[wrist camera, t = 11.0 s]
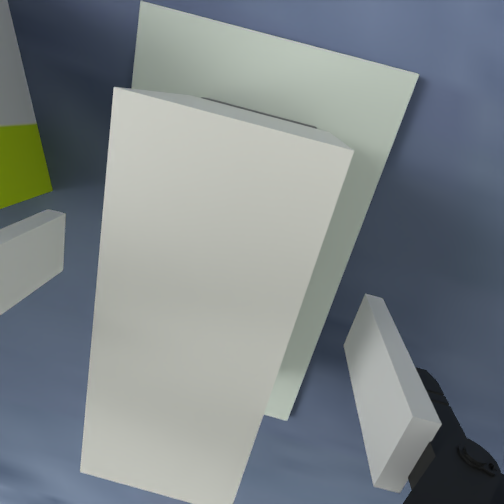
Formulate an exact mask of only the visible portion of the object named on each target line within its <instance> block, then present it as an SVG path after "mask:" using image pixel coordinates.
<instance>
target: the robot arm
mask: <svg viewBox="0 0 504 504" xmlns="http://www.w3.org/2000/svg"><path fill="white" fill-rule="evenodd" d="M65 219H66V213H62V212H58V211H54V210H51V209H47V210H44V211H42V212H40V213H37V214H35V215H33V216H30V217H28V218H26V219H23V220H21V221H18V222H16V223H14V224H11V225H9V226H7V227H4V228H2V229H0V315H2V314H3V313H4V312H6V311H7V310H9V309H10V308H11V307H13V306H14V305H16V304H17V303H18V302H20V301H21V300H23V299H24V298H25V297H27V296H28V295H29V294H31V293H32V292H34V291H35V290H36V289H38V288H39V287H41V286H42V285H43V284H45V283H46V282H48V281H49V280H50V279H52V278H53V277H55V276H56V275H57V274H59V273H60V272H62V271H63V262H64V241H65ZM344 350H345V355H346V360H347V364H348V369H349V374H350V378H351V383H352V388H353V392H354V397H355V402H356V406H357V411H358V416H359V420H360V425H361V430H362V434H363V439H364V444H365V448H366V453H367V458H368V463H369V467H370V472H371V477H372V481H373V486H374V487H378V488H381V489H385V490H389V491H392V492H396V493H400V492H401V490H402V489H403V487H404V486H405V484H406V482H407V481H408V479H409V483H410V486H411V489H412V491H411V492H410V494H409V495H408V497H407V498H406V500H405V501H404V503H403V504H504V475H503V474H502V473H501V471H500V469H499V467H498V464H497V462H496V461H495V460H494V459H493V457H492V456H491V455H490V454H489V453H488V452H487V451H486V450H485V449H483V448H482V447H481V446H480V445H478V444H477V443H475V442H473V441H472V440H470V439H467V437H466V436H465V434H464V432H463V430H462V428H461V426H460V424H459V422H458V420H457V418H456V417H455V415H454V413H453V411H452V409H451V407H450V406H449V403H448V401H447V399H446V397H445V396H443V395H444V394H443V392H442V390H441V388H440V386H439V384H438V382H437V381H436V380H435V379H434V378H433V377H432V376H431V375H430V374H429V373H428V372H427V371H426V370H424V369H420V368H416V367H415V366H414V364H413V362H412V359H411V357H410V355H409V353H408V351H407V349H406V347H405V345H404V342H403V340H402V338H401V336H400V334H399V332H398V330H397V328H396V325H395V323H394V321H393V319H392V317H391V315H390V313H389V311H388V308H387V306H386V304H385V302H384V300H383V298H380V297H376V296H373V295H369V294H365V295H364V298H363V300H362V302H361V305H360V307H359V310H358V312H357V314H356V317H355V319H354V321H353V324H352V326H351V329H350V331H349V333H348V336H347V338H346V341H345V343H344Z"/></svg>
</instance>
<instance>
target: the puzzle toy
mask: <svg viewBox="0 0 504 504" xmlns="http://www.w3.org/2000/svg"><path fill="white" fill-rule="evenodd" d="M51 191H53V189H52V185H51V181H50V177H49V173H48V168H47V164H46V160H45V156H44V152H43V147H42V143H41V139H40V135H39V131H38V126H37V122H36V118H35V114H34V110H33V105H32V101H31V97H30V93H29V89H28V84H27V80H26V76H25V72H24V68H23V63H22V59H21V55H20V51H19V47H18V42H17V38H16V34H15V30H14V26H13V22H12V17H11V13H10V9H9V5H8V1H7V0H0V209H2V208H4V207H7V206H10V205H13V204H16V203H19V202H22V201H25V200H28V199H30V198H33V197H36V196H39V195H42V194H45V193H48V192H51Z"/></svg>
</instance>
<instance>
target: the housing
mask: <svg viewBox="0 0 504 504" xmlns="http://www.w3.org/2000/svg"><path fill="white" fill-rule="evenodd" d="M353 153H354V150H353V149H351V148H350V147H349V146H347V145H346V144H345V143H343V142H342V141H341V140H339V139H338V138H337V137H335V136H334V135H333V134H331V133H330V132H327V131H323V130H319V129H315V128H312V127H308V126H304V125H300V124H297V123H293V122H289V121H285V120H282V119H278V118H274V117H270V116H267V115H263V114H259V113H255V112H252V111H248V110H244V109H240V108H236V107H233V106H229V105H225V104H221V103H218V102H214V101H210V100H206V99H203V98H199V97H195V96H191V95H183V94H174V93H165V92H157V91H148V90H139V89H130V88H121V87H114V90H113V102H112V113H111V124H110V136H109V147H108V159H107V170H106V181H105V193H104V204H103V216H102V227H101V238H100V250H99V261H98V273H97V284H96V295H95V307H94V318H93V330H92V341H91V352H90V364H89V375H88V387H87V398H86V409H85V421H84V432H83V444H82V455H81V467H80V472H82V473H85V474H89V475H93V476H96V477H100V478H103V479H107V480H110V481H114V482H118V483H121V484H125V485H128V486H132V487H135V488H139V489H143V490H146V491H150V492H153V493H157V494H161V495H164V496H168V497H171V498H175V499H178V500H182V501H186V502H189V503H193V504H233V502H234V499H235V496H236V493H237V491H238V488H239V485H240V482H241V479H242V476H243V473H244V470H245V467H246V464H247V461H248V459H249V456H250V453H251V450H252V447H253V444H254V441H255V438H256V435H257V432H258V430H259V427H260V424H261V421H262V418H263V415H264V412H265V409H266V406H267V403H268V400H269V398H270V395H271V392H272V389H273V386H274V383H275V380H276V377H277V374H278V371H279V368H280V366H281V363H282V360H283V357H284V354H285V351H286V348H287V345H288V342H289V339H290V336H291V334H292V331H293V328H294V325H295V322H296V319H297V316H298V313H299V310H300V307H301V305H302V302H303V299H304V296H305V293H306V290H307V287H308V284H309V281H310V278H311V275H312V273H313V270H314V267H315V264H316V261H317V258H318V255H319V252H320V249H321V246H322V243H323V241H324V238H325V235H326V232H327V229H328V226H329V223H330V220H331V217H332V214H333V212H334V209H335V206H336V203H337V200H338V197H339V194H340V191H341V188H342V185H343V182H344V180H345V177H346V174H347V171H348V168H349V165H350V162H351V159H352V156H353Z"/></svg>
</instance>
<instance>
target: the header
mask: <svg viewBox="0 0 504 504" xmlns="http://www.w3.org/2000/svg"><path fill="white" fill-rule="evenodd" d="M418 77H419V74H417V73H413V72H409V71H406V70H402V69H398V68H394V67H390V66H387V65H383V64H379V63H375V62H371V61H368V60H364V59H360V58H356V57H352V56H349V55H345V54H341V53H337V52H333V51H330V50H326V49H322V48H318V47H315V46H311V45H307V44H303V43H299V42H296V41H292V40H288V39H284V38H280V37H277V36H273V35H269V34H265V33H261V32H258V31H254V30H250V29H246V28H242V27H239V26H235V25H231V24H227V23H223V22H220V21H216V20H212V19H208V18H204V17H201V16H197V15H193V14H189V13H185V12H182V11H178V10H174V9H170V8H166V7H163V6H159V5H155V4H151V3H147V2H144V1H140V11H139V20H138V30H137V39H136V49H135V58H134V68H133V77H132V87H131V89H139V90H148V91H157V92H165V93H174V94H183V95H191V96H195V97H199V98H203V99H206V100H210V101H214V102H218V103H221V104H225V105H229V106H233V107H236V108H240V109H244V110H248V111H252V112H255V113H259V114H263V115H267V116H270V117H274V118H278V119H282V120H285V121H289V122H293V123H297V124H300V125H304V126H308V127H312V128H315V129H319V130H323V131H327V132H330V133H331V134H333V135H334V136H335V137H337V138H338V139H339V140H341V141H342V142H343V143H345V144H346V145H347V146H349V147H350V148H351V149H353V150H354V153H353V156H352V159H351V162H350V165H349V168H348V171H347V174H346V177H345V180H344V182H343V185H342V188H341V191H340V194H339V197H338V200H337V203H336V206H335V209H334V212H333V214H332V217H331V220H330V223H329V226H328V229H327V232H326V235H325V238H324V241H323V243H322V246H321V249H320V252H319V255H318V258H317V261H316V264H315V267H314V270H313V273H312V275H311V278H310V281H309V284H308V287H307V290H306V293H305V296H304V299H303V302H302V305H301V307H300V310H299V313H298V316H297V319H296V322H295V325H294V328H293V331H292V334H291V336H290V339H289V342H288V345H287V348H286V351H285V354H284V357H283V360H282V363H281V366H280V368H279V371H278V374H277V377H276V380H275V383H274V386H273V389H272V392H271V395H270V398H269V400H268V403H267V406H266V409H265V412H264V415H267V416H271V417H274V418H278V419H282V420H285V421H287V420H288V418H289V415H290V412H291V410H292V407H293V404H294V402H295V399H296V397H297V394H298V391H299V389H300V386H301V383H302V381H303V378H304V376H305V373H306V370H307V368H308V365H309V362H310V360H311V357H312V355H313V352H314V349H315V347H316V344H317V341H318V339H319V336H320V334H321V331H322V328H323V326H324V323H325V321H326V318H327V315H328V313H329V310H330V307H331V305H332V302H333V300H334V297H335V294H336V292H337V289H338V286H339V284H340V281H341V279H342V276H343V273H344V271H345V268H346V265H347V263H348V260H349V258H350V255H351V252H352V250H353V247H354V244H355V242H356V239H357V237H358V234H359V231H360V229H361V226H362V224H363V221H364V218H365V216H366V213H367V210H368V208H369V205H370V203H371V200H372V197H373V195H374V192H375V189H376V187H377V184H378V182H379V179H380V176H381V174H382V171H383V168H384V166H385V163H386V161H387V158H388V155H389V153H390V150H391V147H392V145H393V142H394V140H395V137H396V134H397V132H398V129H399V126H400V124H401V121H402V119H403V116H404V113H405V111H406V108H407V106H408V103H409V100H410V98H411V95H412V92H413V90H414V87H415V85H416V82H417V79H418Z"/></svg>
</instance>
